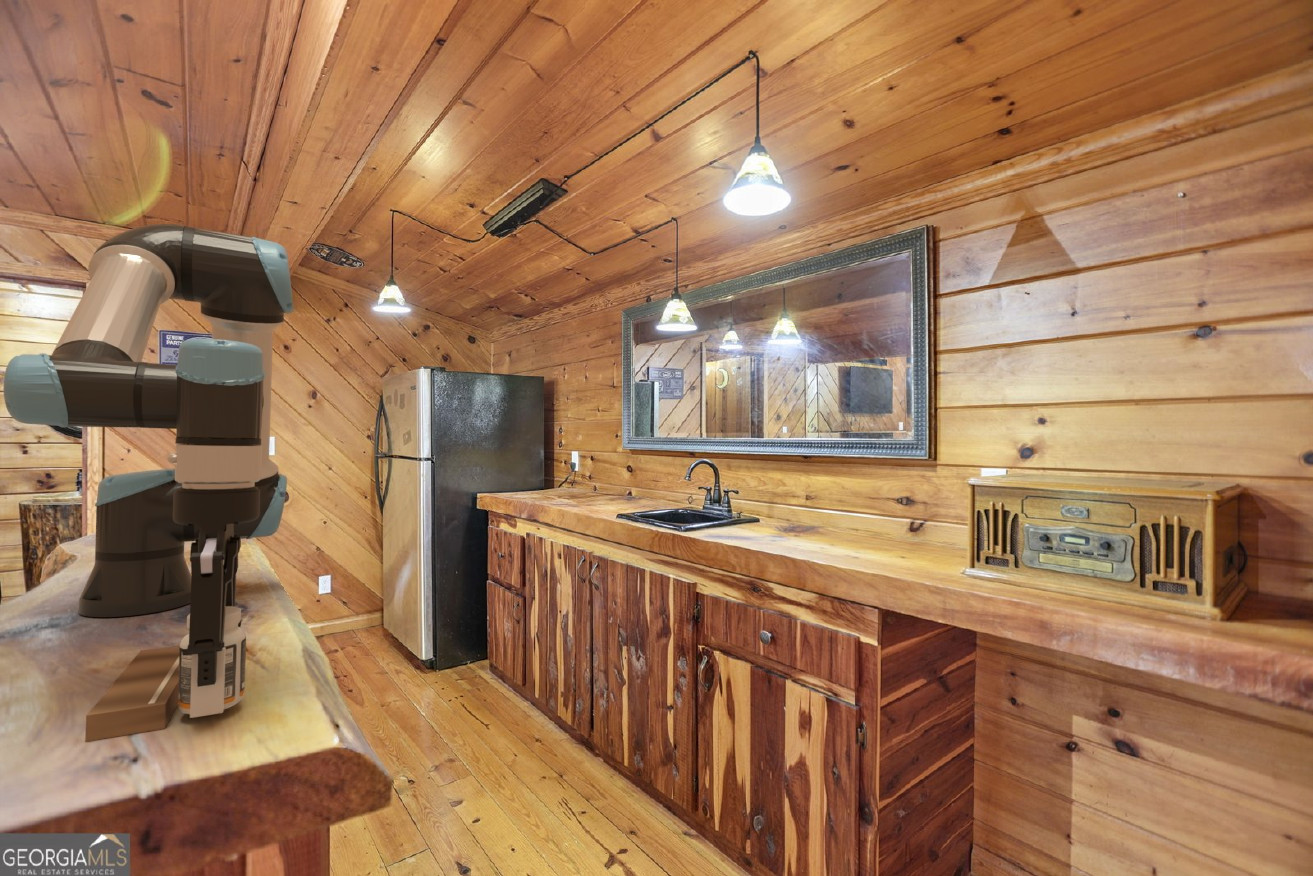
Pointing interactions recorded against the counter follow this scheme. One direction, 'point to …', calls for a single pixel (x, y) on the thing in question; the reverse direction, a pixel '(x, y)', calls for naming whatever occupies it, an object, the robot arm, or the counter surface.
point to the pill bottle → (233, 662)
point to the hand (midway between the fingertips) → (212, 701)
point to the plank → (138, 697)
